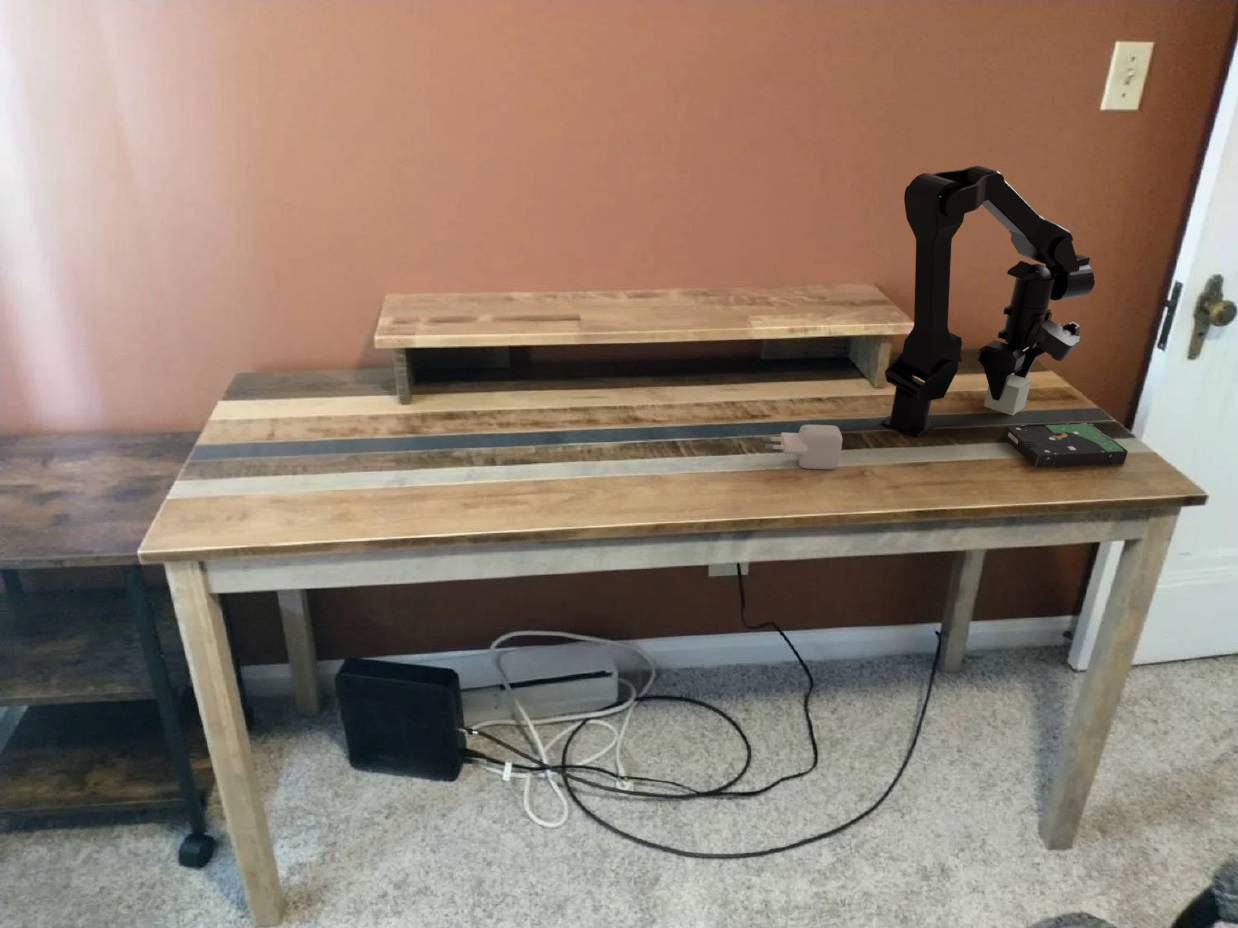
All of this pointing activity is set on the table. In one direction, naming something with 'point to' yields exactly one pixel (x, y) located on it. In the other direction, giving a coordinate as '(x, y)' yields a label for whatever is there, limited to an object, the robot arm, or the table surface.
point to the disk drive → (1064, 445)
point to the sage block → (1010, 396)
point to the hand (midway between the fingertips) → (1007, 392)
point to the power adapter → (811, 446)
